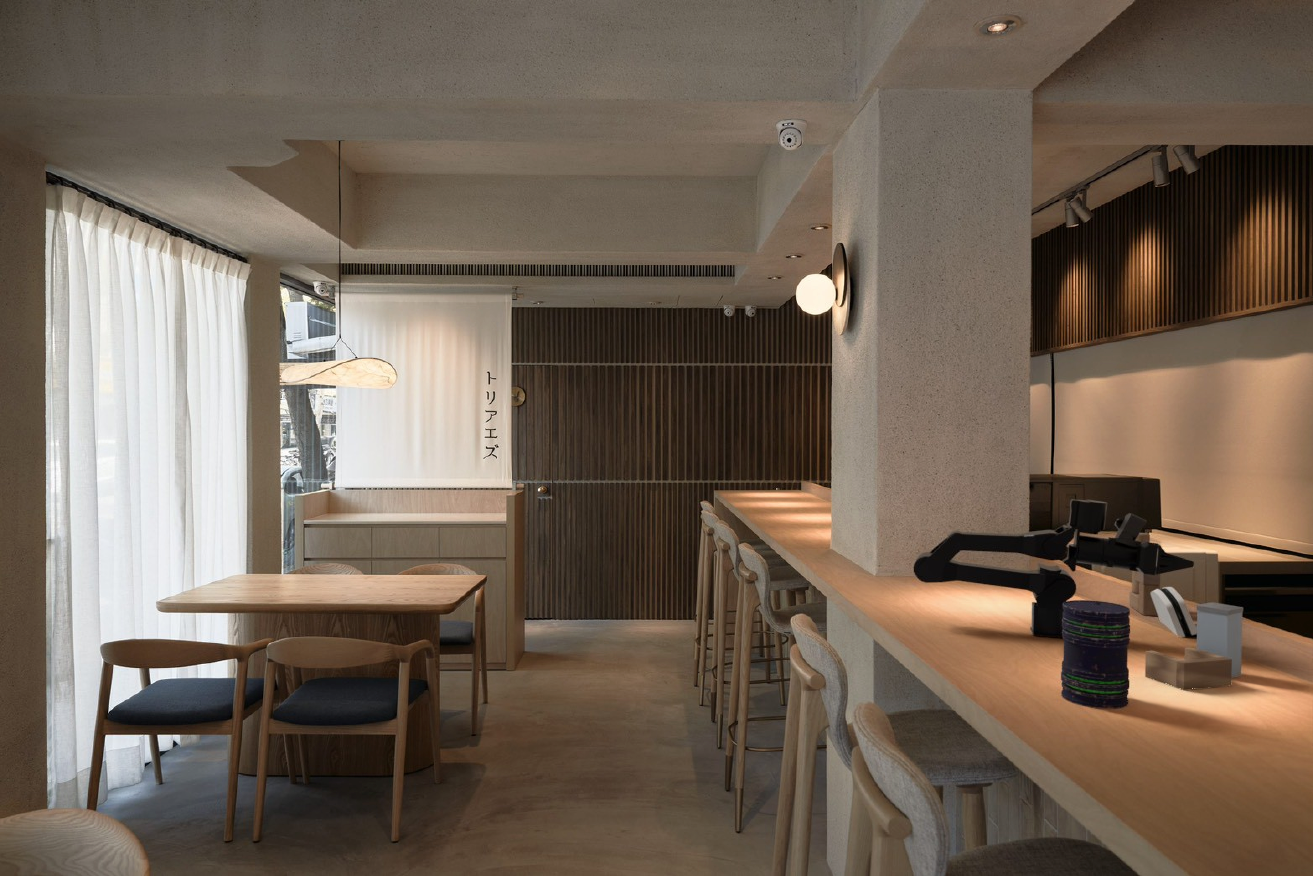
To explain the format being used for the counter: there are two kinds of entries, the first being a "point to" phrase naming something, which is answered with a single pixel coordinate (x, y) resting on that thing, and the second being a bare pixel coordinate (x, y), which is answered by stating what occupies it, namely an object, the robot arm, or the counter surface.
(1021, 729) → the counter surface
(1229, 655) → the rail post
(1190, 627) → the hinge
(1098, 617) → the storage jar
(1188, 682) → the block
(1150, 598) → the wooden block
